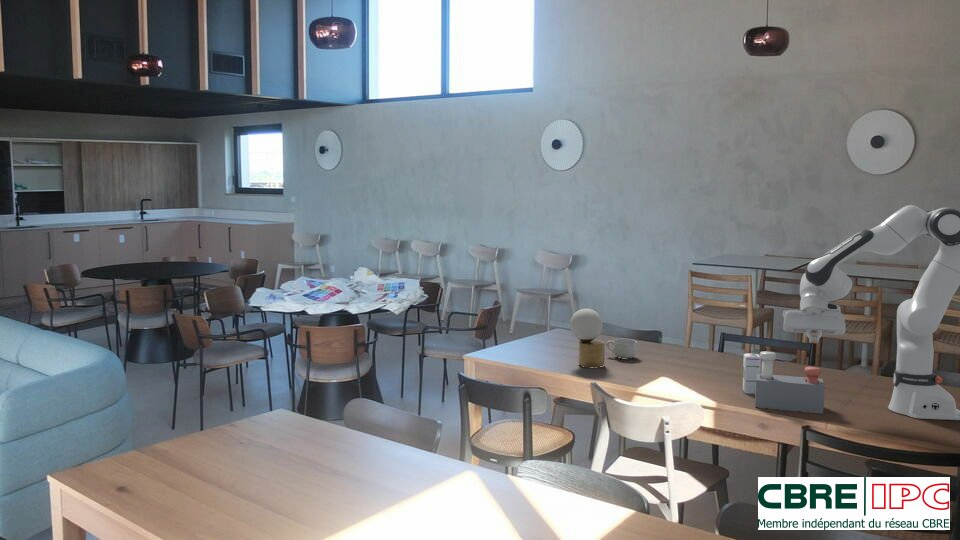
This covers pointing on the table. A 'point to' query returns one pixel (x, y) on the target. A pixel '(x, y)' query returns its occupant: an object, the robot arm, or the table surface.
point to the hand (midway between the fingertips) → (814, 342)
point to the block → (789, 394)
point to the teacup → (623, 347)
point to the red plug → (812, 374)
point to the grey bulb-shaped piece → (767, 364)
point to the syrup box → (750, 372)
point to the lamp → (588, 337)
